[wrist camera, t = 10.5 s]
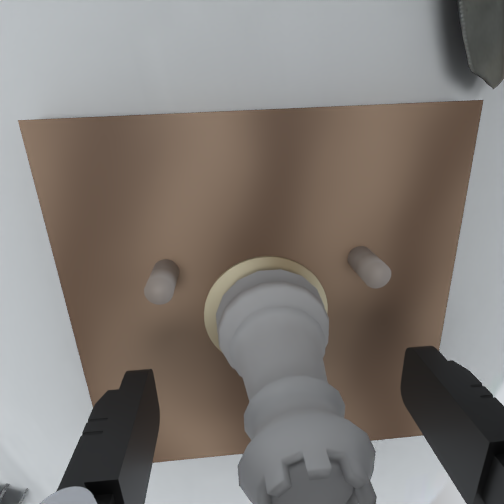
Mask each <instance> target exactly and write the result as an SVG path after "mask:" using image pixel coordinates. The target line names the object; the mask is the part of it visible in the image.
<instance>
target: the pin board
mask: <svg viewBox="0 0 504 504" xmlns="http://www.w3.org/2000/svg"><path fill="white" fill-rule="evenodd" d="M482 105H483V100H472V101H449V102H426V103H403V104H380V105H358V106H335V107H312V108H289V109H266V110H243V111H220V112H198V113H175V114H152V115H129V116H106V117H83V118H61V119H38V120H18V122H19V126H20V130H21V134H22V137H23V141H24V145H25V149H26V153H27V157H28V160H29V164H30V168H31V172H32V176H33V180H34V183H35V187H36V191H37V195H38V199H39V202H40V206H41V210H42V214H43V218H44V222H45V225H46V229H47V233H48V237H49V241H50V245H51V248H52V252H53V256H54V260H55V264H56V268H57V271H58V275H59V279H60V283H61V287H62V290H63V294H64V298H65V302H66V306H67V310H68V313H69V317H70V321H71V325H72V329H73V333H74V336H75V340H76V344H77V348H78V352H79V355H80V359H81V363H82V367H83V371H84V375H85V378H86V382H87V386H88V390H89V394H90V398H91V401H92V405H93V407H94V405H95V403H96V402H97V401H98V400H99V399H100V398H101V397H102V396H103V395H104V394H105V393H106V392H107V391H108V390H116V389H119V388H120V385H121V382H122V379H123V377H124V374H125V372H126V371H131V370H143V369H152V370H153V373H154V379H155V384H156V390H157V396H158V402H159V408H160V426H159V432H158V437H157V442H156V447H155V452H154V457H153V462H152V463H155V462H164V461H174V460H184V459H194V458H204V457H214V456H224V455H234V454H243V453H244V452H245V449H246V447H247V445H248V444H249V443H250V442H251V439H250V438H249V436H248V435H247V433H246V432H245V428H244V413H245V411H246V409H247V406H248V404H249V398H248V395H247V391H246V388H245V384H244V381H243V378H242V377H241V376H240V375H239V374H238V373H237V371H236V370H235V369H234V368H232V367H231V366H230V364H229V362H228V361H227V359H226V357H225V356H224V354H223V352H222V351H221V349H220V347H219V340H218V333H217V323H216V312H217V310H218V307H219V304H220V302H221V299H222V297H223V295H224V294H225V293H226V292H227V291H228V290H229V289H230V288H231V287H232V286H233V285H234V284H235V283H236V282H237V281H238V280H239V279H242V278H244V277H246V276H248V275H250V274H253V273H255V272H257V271H264V270H278V269H282V270H285V271H288V272H291V273H294V274H298V275H301V276H303V277H304V278H305V279H306V280H307V281H308V282H310V283H311V284H312V285H313V286H314V287H315V288H316V289H317V290H318V293H319V295H320V297H321V299H322V302H323V304H324V308H325V310H326V313H327V315H328V317H329V336H328V344H327V346H326V348H325V355H324V357H323V362H324V366H325V371H326V376H327V381H328V384H330V385H331V386H332V387H334V388H335V389H336V390H338V391H339V393H340V395H341V397H342V400H343V402H344V404H345V415H344V418H345V419H347V420H349V421H350V422H352V423H353V424H355V425H356V426H357V427H359V428H360V429H362V430H363V431H364V432H366V433H367V434H368V436H369V439H370V441H372V440H382V439H392V438H402V437H411V436H421V435H423V434H422V432H421V431H420V429H419V427H418V426H417V424H416V423H415V421H414V419H413V418H412V416H411V415H410V413H409V412H408V410H407V408H406V407H405V405H404V403H403V400H402V396H401V390H400V385H401V377H402V370H403V363H404V355H405V351H406V349H407V348H409V347H420V346H434V347H435V348H436V349H437V350H438V351H439V346H440V341H441V335H442V330H443V324H444V318H445V313H446V307H447V301H448V296H449V290H450V285H451V279H452V273H453V268H454V262H455V256H456V251H457V245H458V240H459V234H460V228H461V223H462V217H463V211H464V206H465V200H466V195H467V189H468V183H469V178H470V172H471V167H472V161H473V155H474V150H475V144H476V138H477V133H478V127H479V122H480V116H481V110H482Z"/></svg>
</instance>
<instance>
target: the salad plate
mask: <svg viewBox="0 0 504 504" xmlns="http://www.w3.org/2000/svg"><path fill="white" fill-rule="evenodd" d="M457 3H458V12H459V20H460V26H461V30H462V35H463V41H464V46H465V50H466V55H467V59H468V65H469V68H470V70H471V71H472V72H473V73H475V74H476V75H478V76H479V77H481V78H482V79H484V81H485V82H486V83H487V84H488V85H489V86H491V87H492V88H493V89H494V88H496V87H497V86H498V85H499V84H500V83H501V82H502V80H503V79H504V0H457Z"/></svg>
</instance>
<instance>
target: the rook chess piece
mask: <svg viewBox="0 0 504 504" xmlns="http://www.w3.org/2000/svg"><path fill="white" fill-rule="evenodd" d="M216 323H217V333H218V340H219V347H220V349H221V351H222V352H223V354H224V356H225V357H226V359H227V361H228V362H229V364H230V366H231V367H232V368H234V369H235V370H236V371H237V373H238V374H239V375H240V376H241V377H242V378H243V381H244V384H245V388H246V391H247V395H248V398H249V404H248V406H247V409H246V411H245V413H244V428H245V432H246V433H247V435H248V436H249V438H250V439H251V442H250V443H249V444H248V445H247V447H246V449H245V452H244V454H243V456H242V458H241V460H240V462H239V464H238V475H239V486H240V487H241V488H242V490H243V491H244V493H245V494H246V495H247V497H248V498H249V500H250V501H251V502H252V503H253V504H358V503H359V504H376V494H375V492H374V489H373V487H372V485H371V482H370V479H371V476H372V473H373V468H374V460H375V449H374V447H373V445H372V443H371V441H370V439H369V436H368V434H367V433H366V432H364V431H363V430H362V429H360V428H359V427H357V426H356V425H355V424H353V423H352V422H350V421H349V420H347V419H345V418H344V415H345V404H344V402H343V400H342V397H341V395H340V393H339V391H338V390H336V389H335V388H334V387H332V386H331V385H330V384H328V381H327V376H326V371H325V366H324V362H323V357H324V355H325V348H326V346H327V344H328V336H329V317H328V315H327V313H326V310H325V308H324V304H323V302H322V299H321V297H320V295H319V293H318V290H317V289H316V288H315V287H314V286H313V285H312V284H311V283H310V282H308V281H307V280H306V279H305V278H304V277H303V276H301V275H298V274H294V273H291V272H288V271H285V270H282V269H278V270H264V271H257V272H255V273H253V274H250V275H248V276H246V277H244V278H242V279H239V280H238V281H237V282H236V283H235V284H234V285H233V286H232V287H231V288H230V289H229V290H228V291H227V292H226V293H225V294H224V295H223V297H222V299H221V302H220V304H219V307H218V310H217V312H216Z"/></svg>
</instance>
